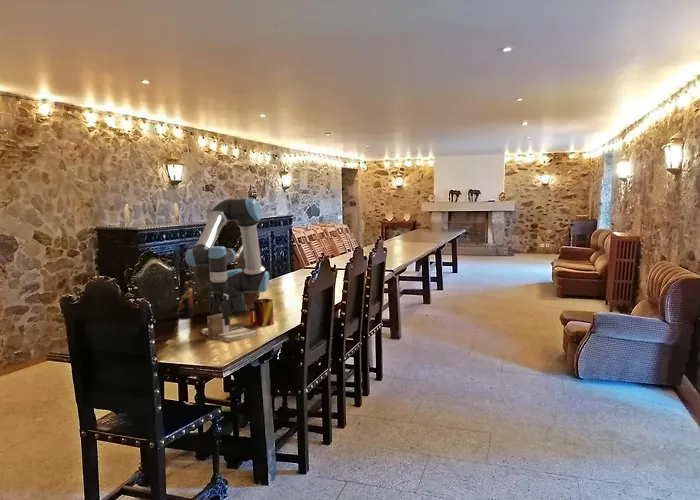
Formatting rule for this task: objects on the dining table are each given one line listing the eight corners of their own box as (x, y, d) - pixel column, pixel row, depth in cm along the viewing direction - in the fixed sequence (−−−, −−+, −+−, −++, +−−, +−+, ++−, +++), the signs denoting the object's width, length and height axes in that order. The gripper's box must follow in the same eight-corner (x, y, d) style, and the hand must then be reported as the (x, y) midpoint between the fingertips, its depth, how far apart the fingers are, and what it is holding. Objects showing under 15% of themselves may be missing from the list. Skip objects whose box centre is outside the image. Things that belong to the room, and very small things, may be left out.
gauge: (208, 337, 223) (207, 316, 222) (238, 330, 234) (237, 310, 233) (214, 339, 219) (213, 317, 218) (244, 331, 231) (243, 311, 230)
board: (201, 333, 231) (201, 329, 231) (227, 327, 241) (227, 323, 241) (230, 342, 215) (230, 337, 214) (256, 335, 225) (256, 331, 225)
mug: (250, 328, 238) (249, 304, 236) (256, 321, 251) (255, 298, 250) (270, 328, 237) (269, 304, 236) (275, 321, 251) (274, 298, 250)
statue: (182, 315, 271) (180, 279, 269) (196, 315, 271) (194, 279, 269) (174, 320, 259) (172, 282, 257) (189, 320, 259) (187, 282, 257)
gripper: (199, 279, 225) (201, 328, 227) (223, 284, 211) (226, 336, 213) (213, 277, 230) (216, 325, 233) (238, 282, 216) (240, 332, 218)
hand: (220, 330), depth 223 cm, fingers open, 8 cm apart
